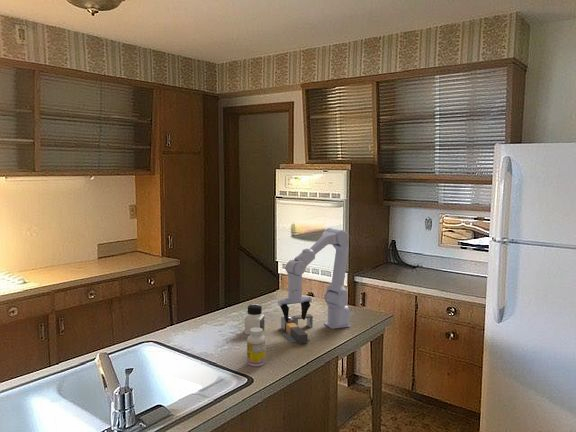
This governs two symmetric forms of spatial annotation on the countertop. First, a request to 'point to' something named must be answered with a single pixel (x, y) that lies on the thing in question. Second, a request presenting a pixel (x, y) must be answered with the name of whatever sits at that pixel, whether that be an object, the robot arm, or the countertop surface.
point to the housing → (296, 320)
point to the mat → (290, 338)
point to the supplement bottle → (256, 347)
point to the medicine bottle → (254, 318)
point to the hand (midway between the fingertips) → (295, 320)
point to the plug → (297, 333)
